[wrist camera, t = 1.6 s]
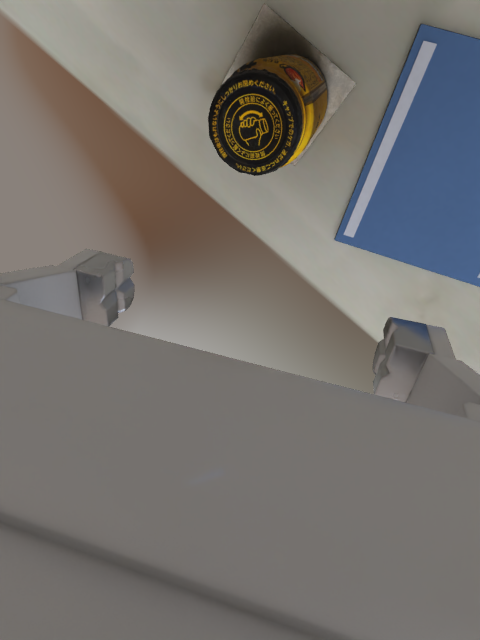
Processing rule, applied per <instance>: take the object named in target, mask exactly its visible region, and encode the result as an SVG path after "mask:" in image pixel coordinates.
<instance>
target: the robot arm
mask: <svg viewBox="0 0 480 640" xmlns="http://www.w3.org/2000/svg"><path fill="white" fill-rule="evenodd" d="M133 273H134V269H133V262H132V261H131V259H129V258H124V257H120V256H116V255H112V254H107V253H104V252H101V251H96V250H90V249H85V250H83V251H82V252H80V253H78V254H76V255H75V256H73V257H71V258H69V259H68V260H66V261H64V262H63V263H61V264H59V265H58V266H54V265H49V266H43V267H37V268H31V269H24V270H18V271H13V272H6V273H0V640H480V375H479V374H478V373H476V372H475V371H474V370H473V369H471V368H470V367H469V366H467V365H466V364H465V363H464V362H462V361H460V360H456V358H455V356H454V353H453V350H452V347H451V344H450V342H449V339H448V336H447V333H446V330H445V329H444V328H442V327H436V326H431V325H426V324H423V323H418V322H413V321H408V320H403V319H398V318H393V317H390V318H388V320H387V322H386V324H385V327H384V329H383V331H384V339H383V340H381V341H380V342H379V343H378V346H377V349H376V352H375V356H374V360H373V372H374V373H375V375H376V376H375V379H374V381H373V386H374V394H370V393H366V392H362V391H358V390H354V389H351V388H347V387H343V386H339V385H334V384H331V383H327V382H323V381H319V380H315V379H311V378H308V377H304V376H300V375H295V374H292V373H288V372H284V371H280V370H276V369H272V368H268V367H265V366H261V365H257V364H253V363H249V362H245V361H241V360H237V359H233V358H229V357H225V356H222V355H218V354H214V353H210V352H206V351H202V350H198V349H194V348H190V347H187V346H183V345H179V344H175V343H171V342H167V341H163V340H159V339H155V338H151V337H148V336H144V335H140V334H136V333H132V332H128V331H124V330H120V329H116V328H112V327H109V326H110V325H111V324H112V323H113V322H114V321H115V320H116V319H117V318H118V313H119V312H123V311H126V310H127V309H128V308H129V307H130V305H131V303H132V300H133V298H134V284H133V282H132V280H131V279H130V277H131V275H132V274H133Z"/></svg>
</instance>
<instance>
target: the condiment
mask: <svg viewBox="0 0 480 640" xmlns="http://www.w3.org/2000/svg"><path fill="white" fill-rule="evenodd" d="M355 85H356V83H355V82H354V81H353V80H352V79H351V78H350V77H348V76H347V75H346V74H345V73H344V72H343V71H342V70H340V69H339V68H338V67H337V66H336V65H335V64H333V63H332V62H331V61H330V60H329V59H328V58H327V57H326V56H325V55H323V54H322V53H321V52H320V51H319V50H318V49H317V48H315V47H314V46H313V45H312V44H311V43H310V42H308V41H307V40H306V39H305V38H304V37H303V36H301V35H300V34H299V33H298V32H297V31H296V30H295V29H294V28H293V27H291V26H290V25H289V24H288V23H287V22H286V21H284V20H283V19H282V18H281V17H280V16H279V15H277V14H276V13H275V12H274V11H273V10H272V9H271V8H269V7H268V6H267V5H266V4H265V3H264V4H263V6H262V8H261V10H260V12H259V14H258V16H257V18H256V20H255V22H254V24H253V26H252V28H251V30H250V32H249V33H248V35H247V37H246V39H245V41H244V43H243V45H242V47H241V49H240V51H239V53H238V54H237V56H236V58H235V60H234V63H233V64H232V66H231V68H230V69H229V71H228V73H227V75H226V77H225V79H224V81H223V83H222V85H221V87H220V88H219V90H218V91H217V93H216V95H215V97H214V99H213V101H212V104H211V107H210V112H209V117H208V122H209V136H210V139H211V140H212V143H213V145H214V147H215V149H216V151H217V153H218V155H219V156H220V158H221V159H222V160H223V161H224V162H226V163H227V164H228V165H229V166H230V167H232V168H233V169H235V170H236V171H238V172H241V173H247V174H251V175H254V176H255V175H263V174H266V173H270V172H273V171H276V170H277V169H278V168H281V167H283V166H285V165H287V164H289V163H291V164H293V166H295V165H296V164H297V162H298V161H299V160H300V158H301V157H302V156H303V155H304V153H305V152H306V150H307V149H308V148H309V146H310V145H311V144H312V142H313V141H314V140H315V138H316V137H317V136H318V134H319V133H320V132H321V130H322V129H323V128H324V126H325V125H326V124H327V122H328V121H329V120H330V118H331V117H332V116H333V114H334V113H335V112H336V110H337V109H338V108H339V106H340V105H341V103H342V102H343V101H344V99H345V98H346V97H347V96H348V94H349V93H350V91H351V90H352V89H353V87H354V86H355Z"/></svg>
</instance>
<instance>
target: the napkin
mask: <svg viewBox="0 0 480 640" xmlns="http://www.w3.org/2000/svg"><path fill="white" fill-rule="evenodd" d="M335 240H336V241H339V242H342V243H345V244H348V245H351V246H354V247H357V248H361V249H364V250H367V251H370V252H373V253H376V254H379V255H382V256H386V257H389V258H392V259H395V260H398V261H401V262H404V263H407V264H410V265H414V266H417V267H420V268H423V269H426V270H429V271H432V272H435V273H438V274H442V275H445V276H448V277H451V278H454V279H457V280H460V281H463V282H466V283H470V284H473V285H476V286H479V287H480V39H477V38H473V37H469V36H465V35H462V34H458V33H454V32H450V31H447V30H443V29H439V28H435V27H432V26H428V25H424V24H421V25H420V28H419V30H418V33H417V35H416V38H415V40H414V43H413V45H412V48H411V50H410V53H409V55H408V58H407V60H406V63H405V65H404V68H403V70H402V73H401V75H400V78H399V80H398V83H397V85H396V88H395V90H394V92H393V95H392V97H391V100H390V102H389V105H388V107H387V110H386V112H385V115H384V117H383V120H382V122H381V125H380V127H379V130H378V132H377V135H376V137H375V140H374V142H373V145H372V147H371V150H370V152H369V155H368V157H367V160H366V162H365V165H364V167H363V170H362V172H361V175H360V177H359V180H358V182H357V185H356V187H355V190H354V192H353V195H352V197H351V200H350V202H349V205H348V207H347V210H346V212H345V215H344V217H343V220H342V222H341V225H340V227H339V230H338V232H337V235H336V237H335Z"/></svg>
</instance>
